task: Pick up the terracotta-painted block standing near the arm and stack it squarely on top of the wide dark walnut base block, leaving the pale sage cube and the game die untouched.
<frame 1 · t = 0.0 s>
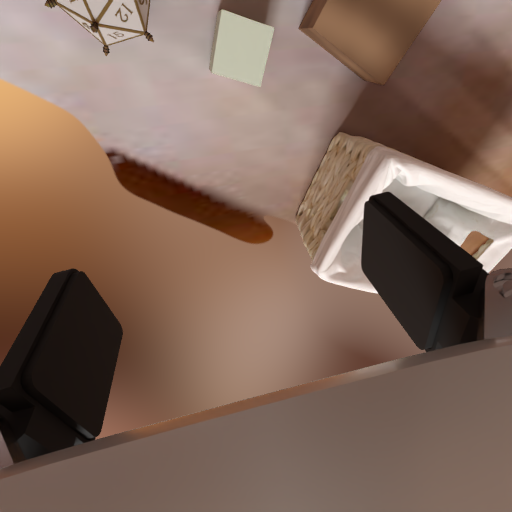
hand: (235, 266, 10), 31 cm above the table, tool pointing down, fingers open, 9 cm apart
walnut base block: (360, 7, 33), on the table
sage cube: (236, 49, 33), on the table
storage basket: (370, 194, 47), on the table
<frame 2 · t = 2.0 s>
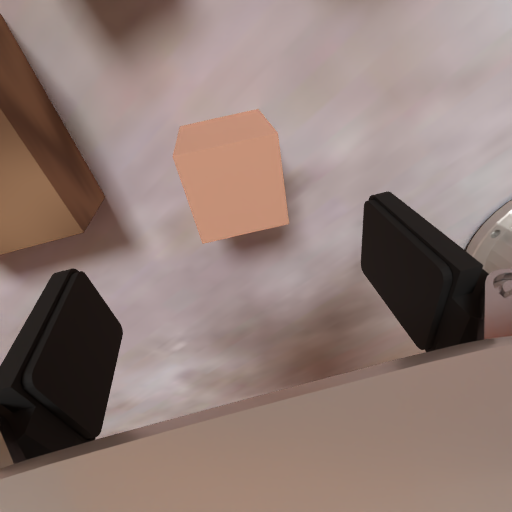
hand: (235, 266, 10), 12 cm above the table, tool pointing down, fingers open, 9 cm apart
terracotta block: (228, 156, 20), on the table
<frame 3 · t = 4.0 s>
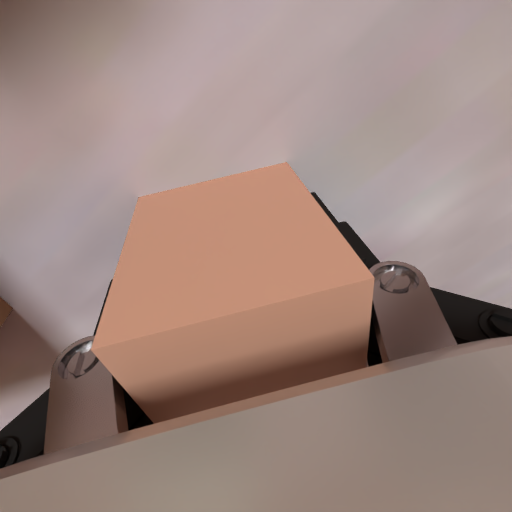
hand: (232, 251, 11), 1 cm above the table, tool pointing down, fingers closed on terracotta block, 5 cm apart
terracotta block: (230, 240, 11), on the table, touching gripper
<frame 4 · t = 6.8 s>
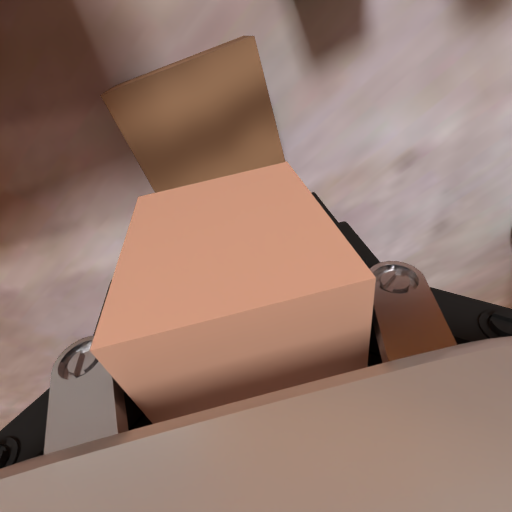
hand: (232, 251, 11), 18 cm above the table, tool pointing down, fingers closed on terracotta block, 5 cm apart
walnut base block: (205, 128, 25), on the table
terracotta block: (230, 240, 11), point 17 cm above the table, touching gripper
when the fingers open (7 cm above the table, at t = 9.5 s): terracotta block drops 1 cm, resting on walnut base block.
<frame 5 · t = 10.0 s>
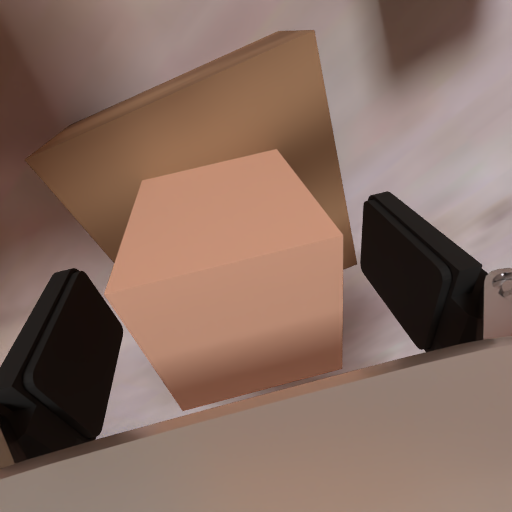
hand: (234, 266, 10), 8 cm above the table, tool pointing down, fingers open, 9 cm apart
walnut base block: (217, 177, 16), on the table, touching terracotta block
terracotta block: (225, 222, 12), point 5 cm above the table, touching walnut base block
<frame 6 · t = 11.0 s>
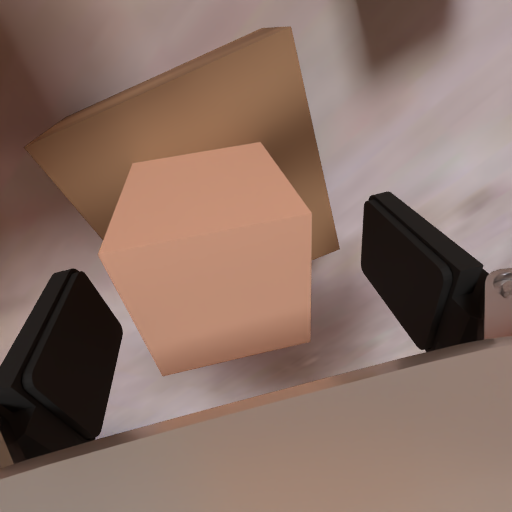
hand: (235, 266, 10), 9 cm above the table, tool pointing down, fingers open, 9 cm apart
walnut base block: (207, 168, 17), on the table, touching terracotta block
terracotta block: (210, 209, 13), point 5 cm above the table, touching walnut base block
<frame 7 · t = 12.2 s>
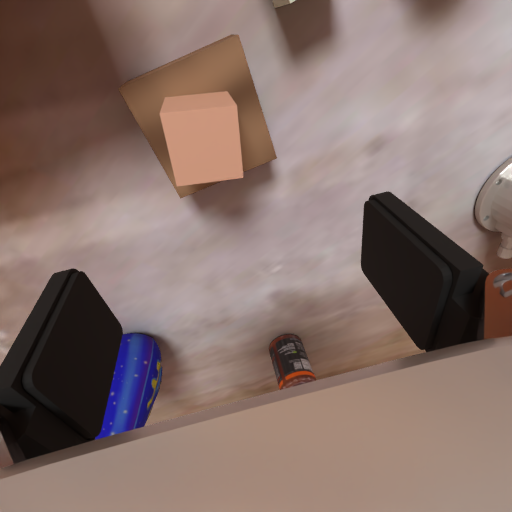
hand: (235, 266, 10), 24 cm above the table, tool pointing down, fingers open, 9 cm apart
supplement bottle: (284, 342, 54), on the table
walnut base block: (203, 114, 30), on the table, touching terracotta block
terracotta block: (201, 126, 26), point 5 cm above the table, touching walnut base block
ornament: (133, 341, 47), on the table
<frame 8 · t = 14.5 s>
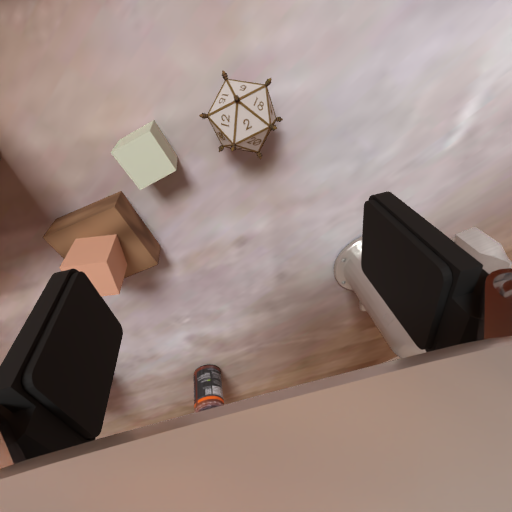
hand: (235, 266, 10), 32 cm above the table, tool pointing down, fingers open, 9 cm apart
game die: (238, 110, 37), on the table
white block: (463, 243, 58), on the table
supplement bottle: (207, 370, 68), on the table
walnut base block: (111, 232, 44), on the table, touching terracotta block
sage cube: (149, 148, 38), on the table
terracotta block: (102, 252, 40), point 5 cm above the table, touching walnut base block
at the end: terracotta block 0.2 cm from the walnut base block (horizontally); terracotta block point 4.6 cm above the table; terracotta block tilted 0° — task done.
